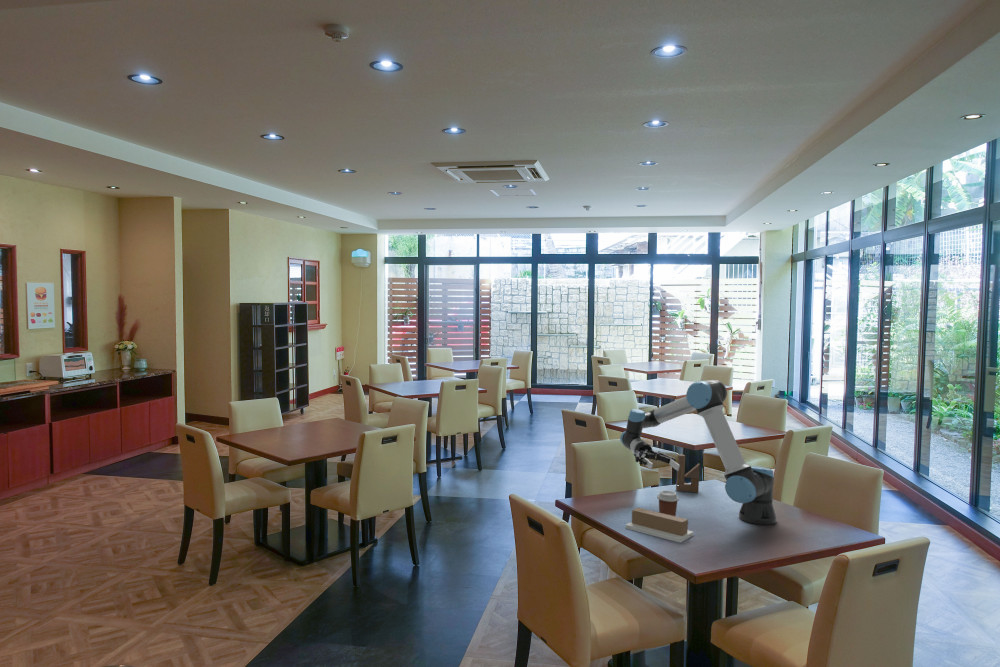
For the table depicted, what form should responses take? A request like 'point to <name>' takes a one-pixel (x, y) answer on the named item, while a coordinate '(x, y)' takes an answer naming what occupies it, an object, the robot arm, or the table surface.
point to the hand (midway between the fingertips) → (665, 467)
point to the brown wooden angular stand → (691, 474)
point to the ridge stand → (659, 525)
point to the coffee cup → (668, 502)
